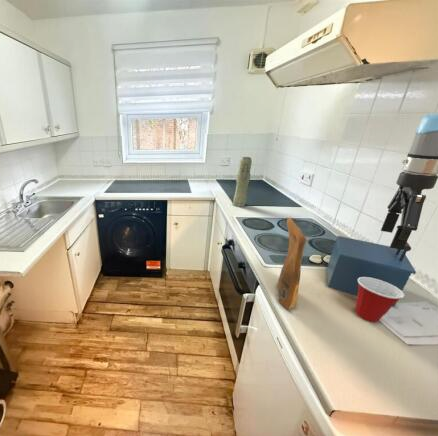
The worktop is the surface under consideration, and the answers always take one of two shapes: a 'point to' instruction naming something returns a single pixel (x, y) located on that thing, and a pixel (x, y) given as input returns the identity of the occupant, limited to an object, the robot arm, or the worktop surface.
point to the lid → (375, 254)
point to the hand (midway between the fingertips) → (390, 239)
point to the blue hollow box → (360, 273)
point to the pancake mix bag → (291, 267)
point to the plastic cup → (375, 298)
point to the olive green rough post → (242, 182)
